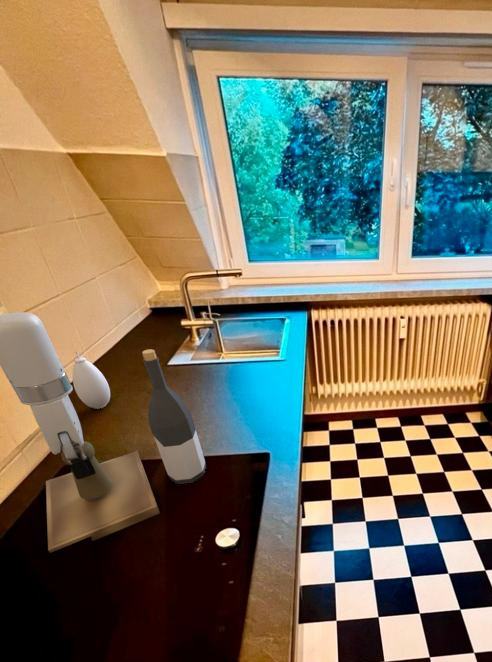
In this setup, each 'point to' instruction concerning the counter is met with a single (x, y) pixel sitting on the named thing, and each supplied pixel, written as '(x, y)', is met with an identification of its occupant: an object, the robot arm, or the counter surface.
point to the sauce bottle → (90, 384)
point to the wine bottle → (173, 427)
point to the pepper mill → (94, 483)
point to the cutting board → (99, 504)
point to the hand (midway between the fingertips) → (84, 466)
